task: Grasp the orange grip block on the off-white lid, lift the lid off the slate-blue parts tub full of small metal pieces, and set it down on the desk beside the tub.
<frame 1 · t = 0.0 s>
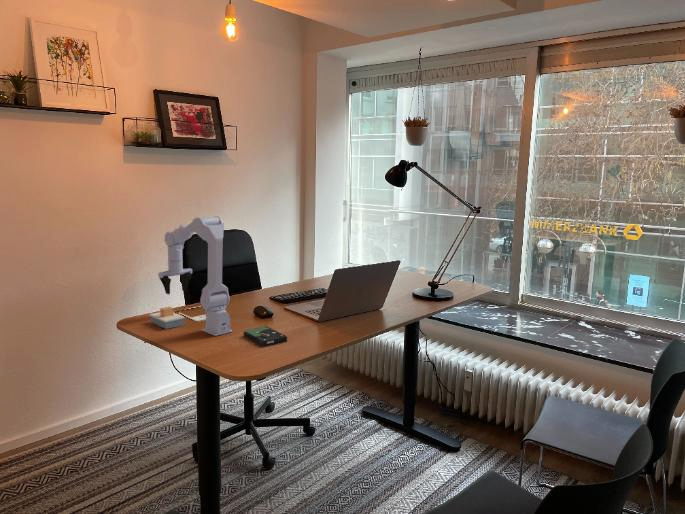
hand: (176, 292, 223), 10 cm above the table, tool pointing down, fingers open, 7 cm apart
lid: (167, 316, 213), point 3 cm above the table, touching tub
photo frame: (200, 315, 229), on the table
disk drive: (265, 340, 199), on the table
tub: (167, 324, 213), on the table
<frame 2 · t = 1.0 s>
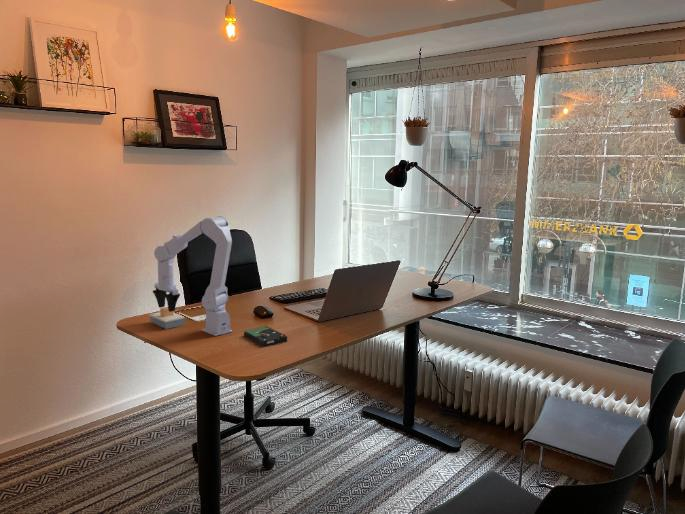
hand: (166, 309, 212), 6 cm above the table, tool pointing down, fingers open, 7 cm apart
nothing on the table moved.
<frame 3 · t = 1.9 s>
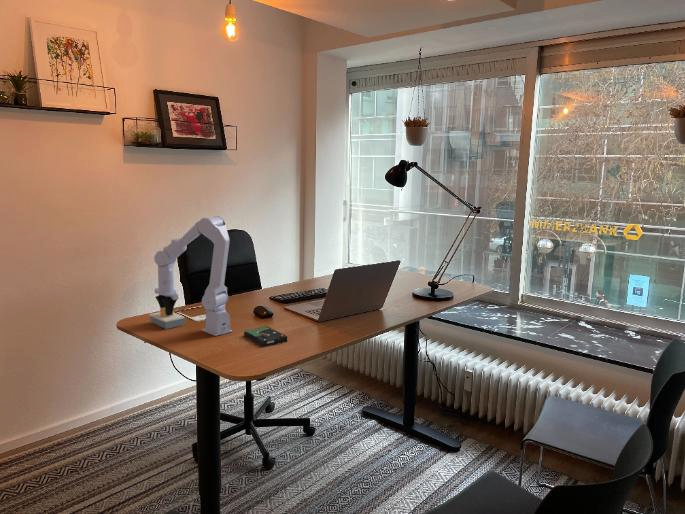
hand: (166, 314, 212), 4 cm above the table, tool pointing down, fingers closed on lid, 3 cm apart
lid: (167, 316, 213), point 3 cm above the table, touching gripper, tub
everything else where it was.
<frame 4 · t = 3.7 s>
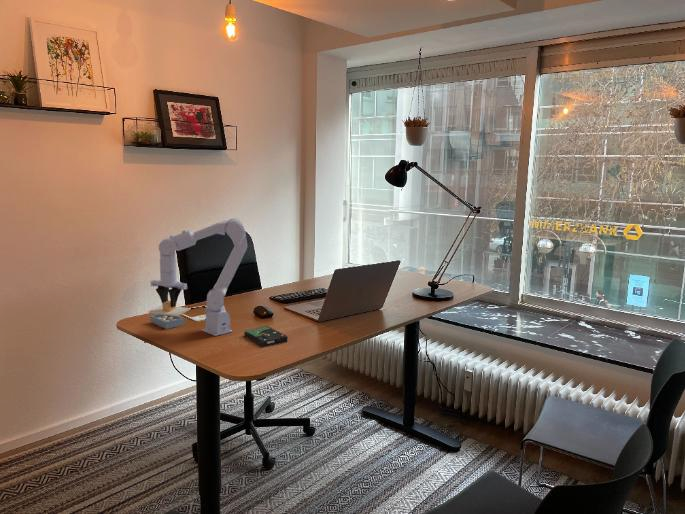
hand: (169, 306, 201), 10 cm above the table, tool pointing down, fingers closed on lid, 3 cm apart
lid: (169, 311, 202), point 8 cm above the table, touching gripper
everything else where it was.
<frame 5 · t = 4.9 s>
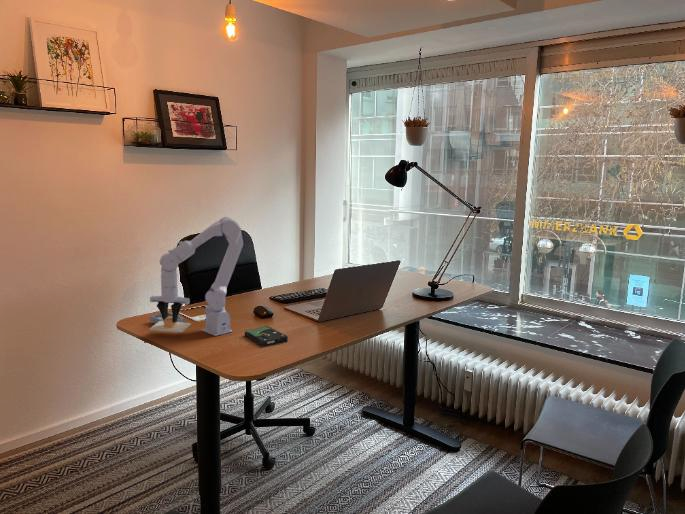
hand: (170, 321, 199), 5 cm above the table, tool pointing down, fingers closed on lid, 3 cm apart
lid: (170, 327, 200), point 3 cm above the table, touching gripper
everything else where it was.
when the fingers open (4 cm above the table, at t = 5.5 s): lid drops 2 cm, on the table.
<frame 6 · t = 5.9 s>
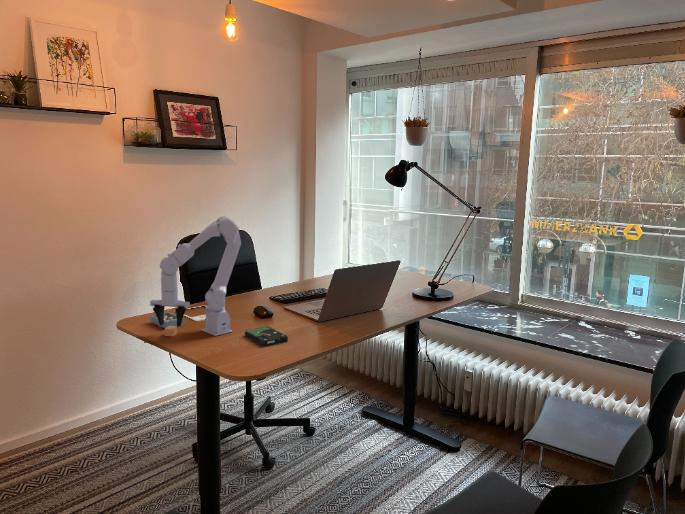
hand: (170, 325, 200), 4 cm above the table, tool pointing down, fingers open, 6 cm apart
lid: (171, 336, 201), on the table
everything else where it was.
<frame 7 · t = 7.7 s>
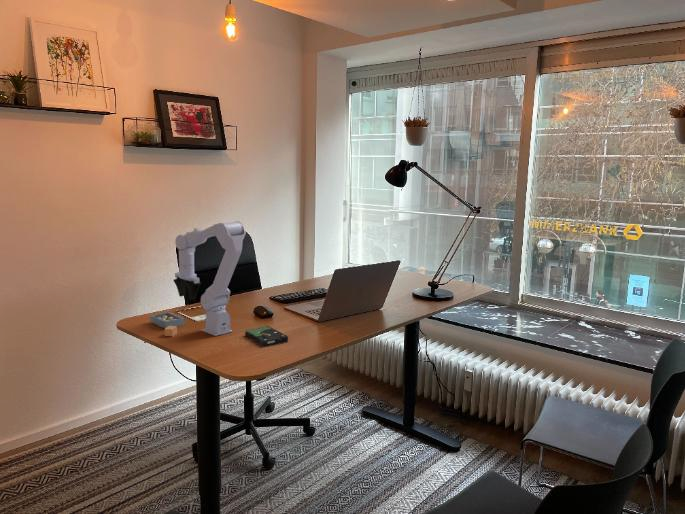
hand: (187, 297, 214), 10 cm above the table, tool pointing down, fingers open, 7 cm apart
nothing on the table moved.
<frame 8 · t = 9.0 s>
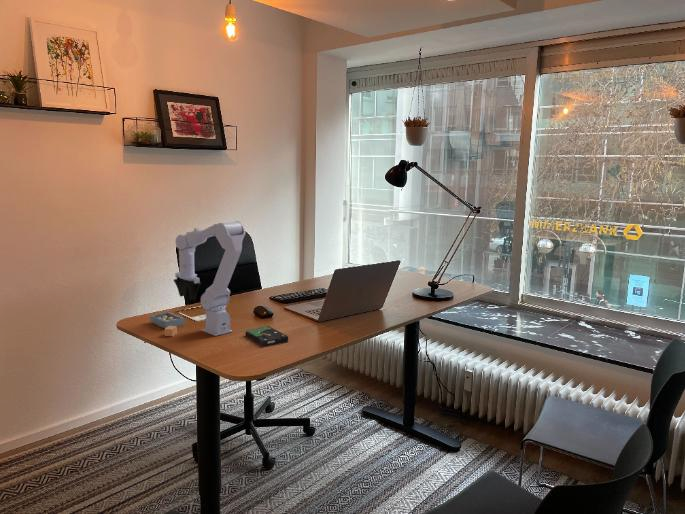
hand: (187, 297, 214), 10 cm above the table, tool pointing down, fingers open, 7 cm apart
nothing on the table moved.
at the end: lid inside the target area (0.1 cm from its centre), on the table; lid touching table; lid tilted 0° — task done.
